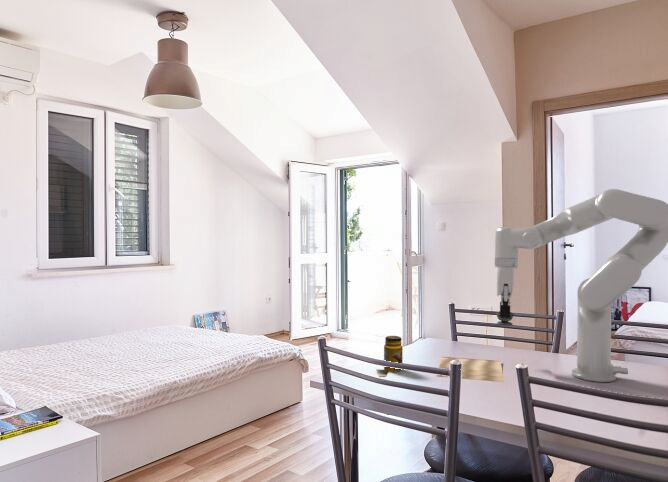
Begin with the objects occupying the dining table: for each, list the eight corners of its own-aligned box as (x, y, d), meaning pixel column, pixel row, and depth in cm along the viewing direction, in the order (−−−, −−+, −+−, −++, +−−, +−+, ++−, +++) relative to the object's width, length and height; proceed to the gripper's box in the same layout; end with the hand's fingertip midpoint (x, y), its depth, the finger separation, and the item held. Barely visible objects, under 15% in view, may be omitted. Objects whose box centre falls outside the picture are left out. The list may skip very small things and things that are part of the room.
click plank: (500, 364, 170) (500, 360, 169) (502, 376, 158) (502, 372, 158) (441, 360, 175) (441, 356, 175) (438, 371, 164) (438, 367, 164)
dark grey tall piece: (515, 323, 171) (516, 289, 170) (511, 326, 166) (512, 290, 165) (498, 321, 174) (499, 287, 174) (493, 324, 169) (494, 289, 169)
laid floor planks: (502, 376, 158) (502, 372, 158) (503, 385, 148) (503, 381, 148) (438, 371, 163) (438, 367, 163) (436, 380, 154) (436, 376, 154)
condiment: (405, 376, 158) (405, 339, 158) (379, 376, 158) (379, 339, 157) (401, 370, 165) (401, 334, 165) (376, 370, 165) (376, 334, 165)
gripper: (494, 261, 179) (493, 310, 179) (494, 264, 162) (493, 318, 163) (516, 262, 176) (515, 312, 177) (519, 265, 160) (517, 320, 160)
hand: (504, 314), depth 170 cm, fingers closed on dark grey tall piece, 5 cm apart
